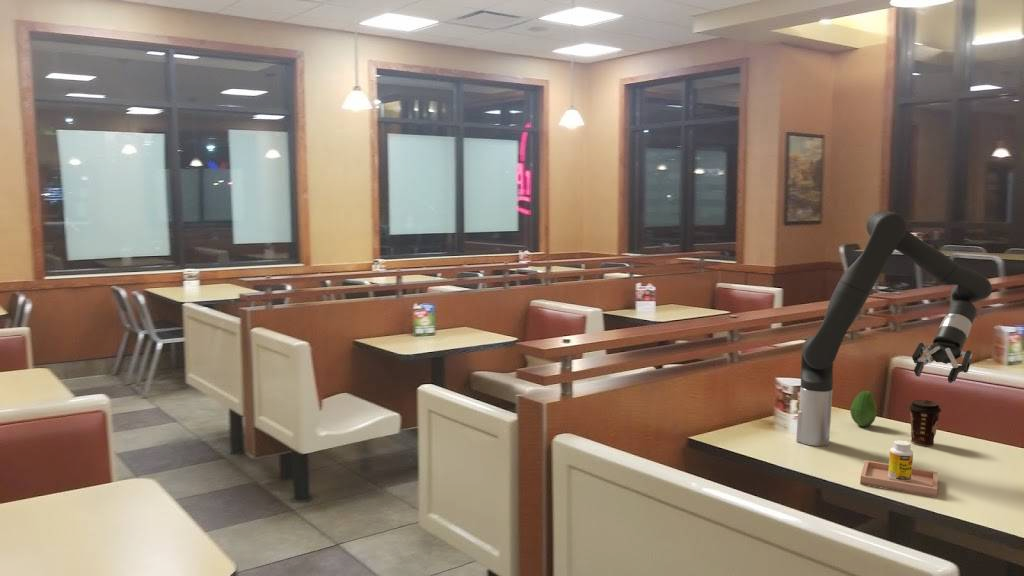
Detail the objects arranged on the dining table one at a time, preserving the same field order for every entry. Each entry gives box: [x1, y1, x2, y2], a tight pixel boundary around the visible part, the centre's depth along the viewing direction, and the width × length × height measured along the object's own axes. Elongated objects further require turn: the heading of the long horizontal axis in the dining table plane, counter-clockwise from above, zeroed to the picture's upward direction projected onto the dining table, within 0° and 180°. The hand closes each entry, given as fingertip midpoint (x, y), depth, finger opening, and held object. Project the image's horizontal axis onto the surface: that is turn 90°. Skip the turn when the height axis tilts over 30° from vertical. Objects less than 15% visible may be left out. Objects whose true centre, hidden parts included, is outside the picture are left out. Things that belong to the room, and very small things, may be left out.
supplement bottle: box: [888, 439, 914, 482], centre depth 206 cm, size 6×6×10 cm
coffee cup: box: [908, 399, 942, 447], centre depth 238 cm, size 9×8×13 cm
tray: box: [859, 459, 939, 498], centre depth 207 cm, size 18×14×2 cm
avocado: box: [850, 390, 878, 427], centre depth 256 cm, size 8×8×12 cm
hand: (933, 377), depth 214 cm, fingers open, 8 cm apart
